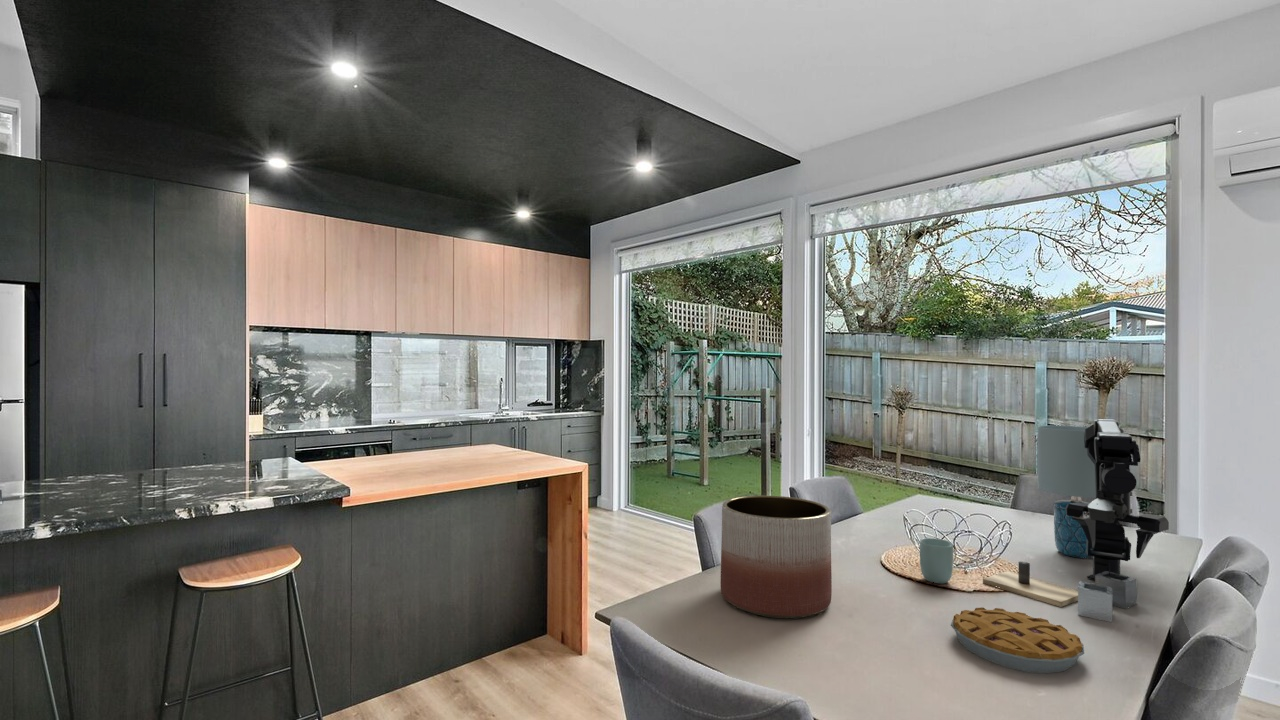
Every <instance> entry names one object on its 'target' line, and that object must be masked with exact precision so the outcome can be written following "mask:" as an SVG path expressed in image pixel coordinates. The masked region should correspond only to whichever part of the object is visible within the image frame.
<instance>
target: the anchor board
mask: <svg viewBox="0 0 1280 720" xmlns="http://www.w3.org/2000/svg"><path fill="white" fill-rule="evenodd" d="M1030 567H1031V564H1030V563H1029V562H1028V561H1022V560H1021V561H1019V560H1018V573H1016V572H1013V571H1010V570H1007V571H1004V572H1003V571H1002V572H1000V573H997V574H994V575H991V576H987V577H983V578H982V584H984V583H986V584H985V585H987V584H989V585H988V586H990V585H993V586H992V587H994V586H997V587H1000V588H1003V589H1005V591H1007V592H1011V593H1014V594H1017V595H1020V596H1024V597H1028V598H1031V599H1033V600H1036V601H1039V602H1043V603H1047V604H1049V605H1053V606H1056V607H1059V608H1063V607H1065V606H1067V605H1070V604H1072V603H1075V602H1078V589H1075V588H1071V587H1067V586H1063V585H1060V584H1057V583H1052V582H1049V581H1046V580H1042V579H1037V578H1035V577H1031V575H1030V574H1031V568H1030ZM997 587H996V588H997ZM1000 588H999V589H1000ZM1003 589H1002V590H1003Z"/></svg>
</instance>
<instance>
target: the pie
mask: <svg viewBox="0 0 1280 720" xmlns="http://www.w3.org/2000/svg"><path fill="white" fill-rule="evenodd" d="M950 627H951V628H952V629H953V630H954V632H955V634H956V637H957V639H958V641H959V642H960V643H961V645H962V646H963V647H964V648H966V650H969V651H970V652H972V653H973V654H975V655H976V656H979V657H980V658H981V659H984V660H986V661H989V662H992V663H995V664H997V665H1000V666H1002V667H1005V668H1009V669H1014V670H1017V671H1021V672H1024V673H1037V674H1052V673H1059V672H1065V671H1067V670H1068V669H1070V668H1071V667H1073V666H1074V665H1075V664H1076V662H1077V661H1078V660H1079V658H1080V657H1081V656H1084V654H1085V647H1084V643H1083V642H1082V641H1081V638H1080V637H1079V636H1078V635H1077V634H1074V633H1071V632H1069V630H1068V629H1067V628H1065V627H1064V626H1062V625H1061V624H1056V625H1055V624H1054V623H1053V624H1052V623H1050V622H1049V619H1045V618H1042V617H1034V616H1033V617H1032V616H1030V615H1028V614H1027V613H1025V612H1020V611H1015V612H1014V611H1007V610H1006V609H1004V608H999V607H996V608H994V609H986V608H985V607H983V606H982V607H975V608H974V610H968V609H964V610H961V611H960V613H959V614H958V613H954V615H953V619H952V621H951V623H950Z"/></svg>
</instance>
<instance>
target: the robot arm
mask: <svg viewBox="0 0 1280 720" xmlns="http://www.w3.org/2000/svg"><path fill="white" fill-rule="evenodd" d="M1087 427H1088V428H1086V429H1085V435H1084V448H1087V455H1088V457H1089V458H1090V459H1091V461H1092V462H1093V463H1094V465H1095V486H1096V498H1094V499H1093V500H1092V501H1091V502H1089V503H1090V504H1086V503H1080V502H1075V503H1070V504H1068V505H1067V506H1066V515H1068V516H1073V517H1072V519H1073V520H1076V521H1077V522H1078V523H1079V524H1080V525H1081V527H1082V529H1083V531H1084V533H1085V535H1086V538H1087V540H1086V552H1087V555H1088V556H1093V558H1092V574H1090V575H1087V576H1086V578H1087V579H1088V580H1093V581H1095V575H1096V574H1099V573H1102V572H1105V571H1109V572H1113V573H1117V574H1121V561H1125V562H1129V561H1131V549H1132V543H1131V542H1130V540H1129V537H1127V536H1126V533H1125V532H1126V531H1125V527H1124V526H1123V524H1121V523H1120V522H1123V523H1127V524H1133V525H1136V526H1137V527H1138V528H1139V529H1135V533H1136V535H1137V536H1136V547H1135V548H1136V549H1135V554H1136V559H1141V557H1142V555H1143V554H1144V552H1145V550H1146V548H1147V546H1148V544H1149V543H1150V541H1151V539H1152V538H1153V536H1154V535H1156V534H1159V533H1161V532H1165V531H1168V530H1170V529H1169V527H1170V525H1169V524H1170V523H1169V521H1168V519H1167V517H1166V516H1163V515H1162V516H1160V515H1155V514H1151V513H1146V514H1141V515H1134V514H1133V508H1131V497H1132V496H1133V491H1134V489H1136V487H1137V479H1136V477H1135V475H1134V474H1133V473H1132V472H1131V468H1130V466H1133V467H1134V466H1135V467H1138V466H1139V463H1140V462H1141V454H1140V448H1139V447H1140V446H1139V444H1137V441H1136V439H1133V437H1132V435H1130V434H1129V433H1125V432H1124V430H1123V429H1122V428H1121V427H1119V421H1118V420H1115V419H1105V418H1103V419H1102V418H1097V419H1094V421H1093V424H1092V425H1089V426H1087ZM1090 549H1093V550H1090Z"/></svg>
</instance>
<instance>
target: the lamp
mask: <svg viewBox="0 0 1280 720" xmlns="http://www.w3.org/2000/svg"><path fill="white" fill-rule="evenodd" d="M1088 427H1089V426H1077V425H1074V426H1073V425H1038V426H1037V489H1038V490H1040V491H1043V492H1047V493H1050V494H1051V493H1052V494H1057V495H1061V496H1067V497H1070V499H1060V500H1059V499H1058V500H1055V501H1054V504H1053V530H1054V542H1055V544H1054V545H1055V546H1056V547H1055V548H1056V549H1057V552H1059V553H1061V554H1062V555H1064V556H1068V557H1073V558H1079V559H1091V558H1092V559H1093V556H1088V555H1087V552H1086V540H1087V538H1086V535H1085V533H1084V531H1083V529H1082V527H1081V525H1080V524H1079V523H1078V522H1077V521H1076V520H1073V519H1072V517H1073V516H1068V515H1066V506H1067V505H1068V504H1070V503H1075V502H1080V503H1086V504H1090V503H1091V502H1086V501H1083V500H1082V498H1089V499H1096V486H1095V465H1094V463H1093V462H1092V461H1091V459H1090V458H1089V457H1088V455H1087V448H1084V435H1085V429H1086V428H1088ZM1090 550H1093V549H1090Z"/></svg>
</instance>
